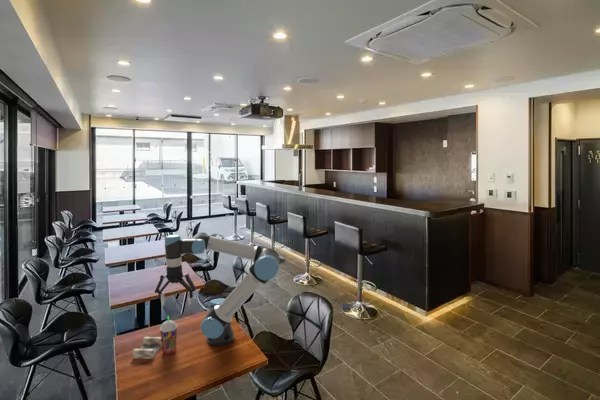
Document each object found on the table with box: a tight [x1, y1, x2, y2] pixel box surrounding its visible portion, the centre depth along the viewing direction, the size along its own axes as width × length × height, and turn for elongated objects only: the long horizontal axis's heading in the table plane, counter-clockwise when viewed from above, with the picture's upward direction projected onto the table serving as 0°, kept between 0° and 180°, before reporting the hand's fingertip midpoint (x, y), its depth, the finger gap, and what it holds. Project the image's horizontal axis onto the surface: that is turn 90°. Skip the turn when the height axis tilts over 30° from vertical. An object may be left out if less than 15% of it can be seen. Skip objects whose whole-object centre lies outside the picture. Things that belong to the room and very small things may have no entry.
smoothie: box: [159, 315, 178, 355], centre depth 177 cm, size 8×8×20 cm
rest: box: [132, 336, 162, 360], centre depth 178 cm, size 10×13×4 cm
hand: (176, 304), depth 175 cm, fingers open, 13 cm apart
